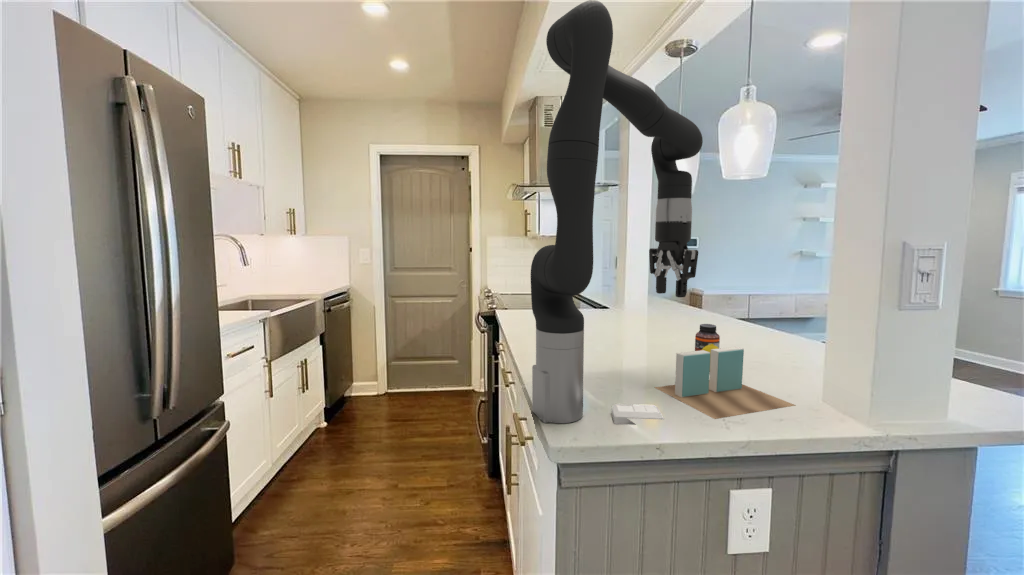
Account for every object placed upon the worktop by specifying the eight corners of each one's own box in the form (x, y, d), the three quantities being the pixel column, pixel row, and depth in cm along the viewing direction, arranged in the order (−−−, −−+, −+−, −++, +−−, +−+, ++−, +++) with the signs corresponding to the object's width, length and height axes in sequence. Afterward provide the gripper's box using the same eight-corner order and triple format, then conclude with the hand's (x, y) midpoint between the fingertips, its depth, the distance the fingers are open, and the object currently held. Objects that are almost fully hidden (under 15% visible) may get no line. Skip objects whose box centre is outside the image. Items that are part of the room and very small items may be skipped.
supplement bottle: (689, 364, 119) (690, 323, 118) (707, 362, 121) (708, 322, 120) (704, 371, 113) (706, 328, 112) (723, 368, 115) (725, 326, 114)
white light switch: (663, 427, 81) (664, 414, 81) (614, 425, 82) (614, 412, 82) (657, 416, 86) (658, 403, 86) (611, 415, 87) (611, 402, 87)
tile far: (716, 392, 94) (718, 351, 93) (709, 389, 97) (710, 349, 95) (742, 388, 97) (744, 349, 96) (734, 385, 99) (736, 346, 98)
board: (714, 425, 81) (714, 418, 81) (654, 392, 98) (654, 387, 98) (795, 411, 87) (795, 405, 87) (725, 382, 104) (725, 377, 104)
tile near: (682, 397, 92) (683, 355, 91) (674, 394, 94) (676, 353, 93) (709, 393, 94) (711, 352, 93) (701, 390, 96) (703, 350, 95)
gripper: (639, 221, 103) (637, 292, 105) (681, 218, 89) (678, 300, 91) (666, 221, 105) (664, 290, 107) (711, 219, 91) (707, 298, 93)
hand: (670, 294), depth 99 cm, fingers open, 6 cm apart
